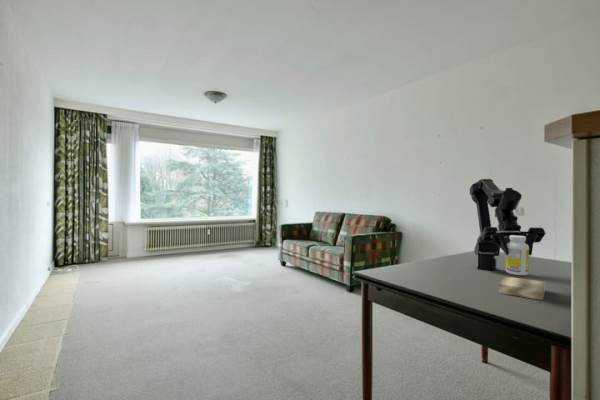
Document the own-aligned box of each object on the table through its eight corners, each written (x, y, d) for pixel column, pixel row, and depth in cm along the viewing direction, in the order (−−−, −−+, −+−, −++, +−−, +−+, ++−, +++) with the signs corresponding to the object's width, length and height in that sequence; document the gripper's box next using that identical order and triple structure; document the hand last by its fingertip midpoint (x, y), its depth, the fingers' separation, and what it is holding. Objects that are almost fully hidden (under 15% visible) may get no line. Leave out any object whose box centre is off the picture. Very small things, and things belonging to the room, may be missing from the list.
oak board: (499, 292, 109) (499, 284, 109) (504, 284, 118) (504, 276, 118) (543, 300, 101) (543, 290, 101) (545, 290, 111) (545, 282, 110)
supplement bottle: (520, 270, 113) (522, 234, 112) (532, 275, 107) (534, 237, 106) (501, 270, 114) (502, 234, 113) (511, 275, 107) (513, 237, 106)
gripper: (527, 232, 122) (541, 267, 112) (474, 231, 127) (483, 265, 116) (538, 213, 114) (554, 250, 104) (480, 213, 119) (490, 248, 108)
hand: (519, 254), depth 108 cm, fingers closed on supplement bottle, 7 cm apart
